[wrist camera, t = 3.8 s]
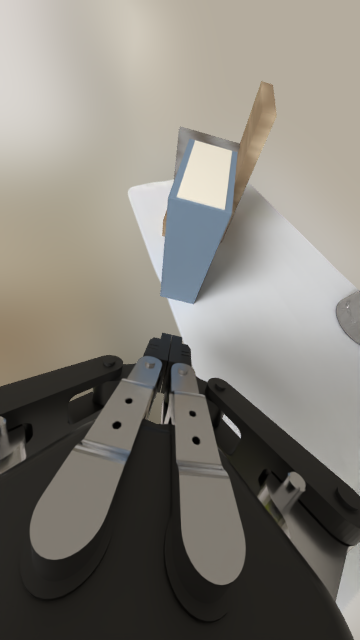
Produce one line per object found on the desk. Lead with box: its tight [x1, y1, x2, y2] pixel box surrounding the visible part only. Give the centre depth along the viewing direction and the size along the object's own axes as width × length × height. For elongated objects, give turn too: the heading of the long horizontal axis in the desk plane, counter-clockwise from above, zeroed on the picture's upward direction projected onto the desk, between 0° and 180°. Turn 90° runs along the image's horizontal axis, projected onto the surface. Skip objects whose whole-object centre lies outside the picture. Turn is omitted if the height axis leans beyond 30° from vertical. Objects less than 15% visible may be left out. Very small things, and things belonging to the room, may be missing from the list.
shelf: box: [162, 82, 276, 243], centre depth 27 cm, size 11×12×16 cm
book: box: [160, 139, 238, 304], centre depth 22 cm, size 5×10×14 cm, turn 169°
